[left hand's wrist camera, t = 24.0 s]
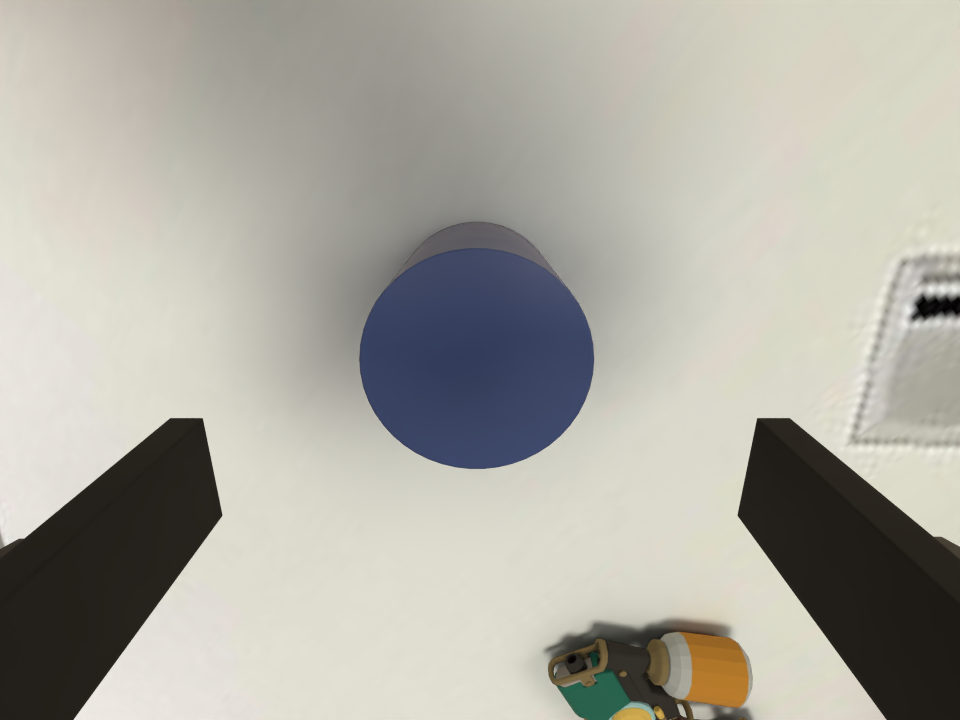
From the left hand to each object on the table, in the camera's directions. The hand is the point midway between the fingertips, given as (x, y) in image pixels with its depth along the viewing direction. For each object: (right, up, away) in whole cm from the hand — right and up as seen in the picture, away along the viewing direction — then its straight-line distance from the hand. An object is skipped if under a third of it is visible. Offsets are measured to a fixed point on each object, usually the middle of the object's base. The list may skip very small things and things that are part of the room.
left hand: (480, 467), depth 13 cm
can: (0, +6, +18) cm, 19 cm away
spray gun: (+14, -23, +28) cm, 39 cm away
